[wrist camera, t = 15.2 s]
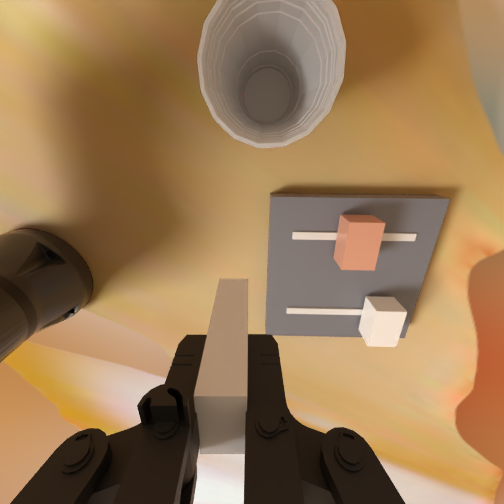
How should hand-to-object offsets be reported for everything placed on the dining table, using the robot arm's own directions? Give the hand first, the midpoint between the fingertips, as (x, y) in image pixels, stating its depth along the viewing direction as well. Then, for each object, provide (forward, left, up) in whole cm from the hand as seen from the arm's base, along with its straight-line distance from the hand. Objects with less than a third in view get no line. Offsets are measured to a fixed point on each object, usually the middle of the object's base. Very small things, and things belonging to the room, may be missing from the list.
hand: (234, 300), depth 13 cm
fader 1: (+14, -3, -19) cm, 24 cm away
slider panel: (+14, -9, -22) cm, 28 cm away
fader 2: (+19, -15, -19) cm, 31 cm away
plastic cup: (+2, +13, -23) cm, 26 cm away
